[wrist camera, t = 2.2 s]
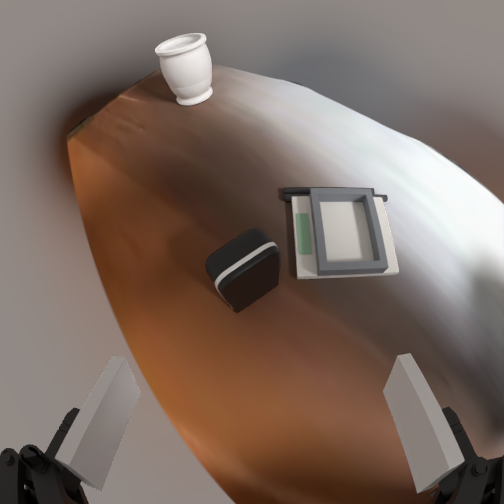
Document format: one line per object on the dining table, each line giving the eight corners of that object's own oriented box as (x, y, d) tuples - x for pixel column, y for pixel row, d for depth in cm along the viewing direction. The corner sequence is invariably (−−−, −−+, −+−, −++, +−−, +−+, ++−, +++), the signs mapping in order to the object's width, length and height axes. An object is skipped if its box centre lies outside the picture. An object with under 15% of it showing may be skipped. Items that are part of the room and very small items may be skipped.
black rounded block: (263, 261, 36) (258, 215, 25) (281, 283, 34) (283, 244, 24) (218, 291, 34) (194, 256, 24) (235, 315, 33) (216, 290, 22)
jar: (196, 113, 50) (179, 52, 36) (163, 105, 53) (144, 52, 39) (226, 88, 53) (216, 33, 40) (193, 82, 56) (180, 32, 42)
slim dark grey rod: (382, 191, 39) (384, 187, 38) (386, 202, 38) (388, 199, 37) (284, 190, 40) (284, 186, 39) (284, 202, 39) (285, 198, 38)
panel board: (380, 200, 38) (386, 189, 35) (396, 274, 33) (405, 266, 30) (291, 200, 39) (292, 188, 36) (296, 279, 34) (298, 271, 31)
